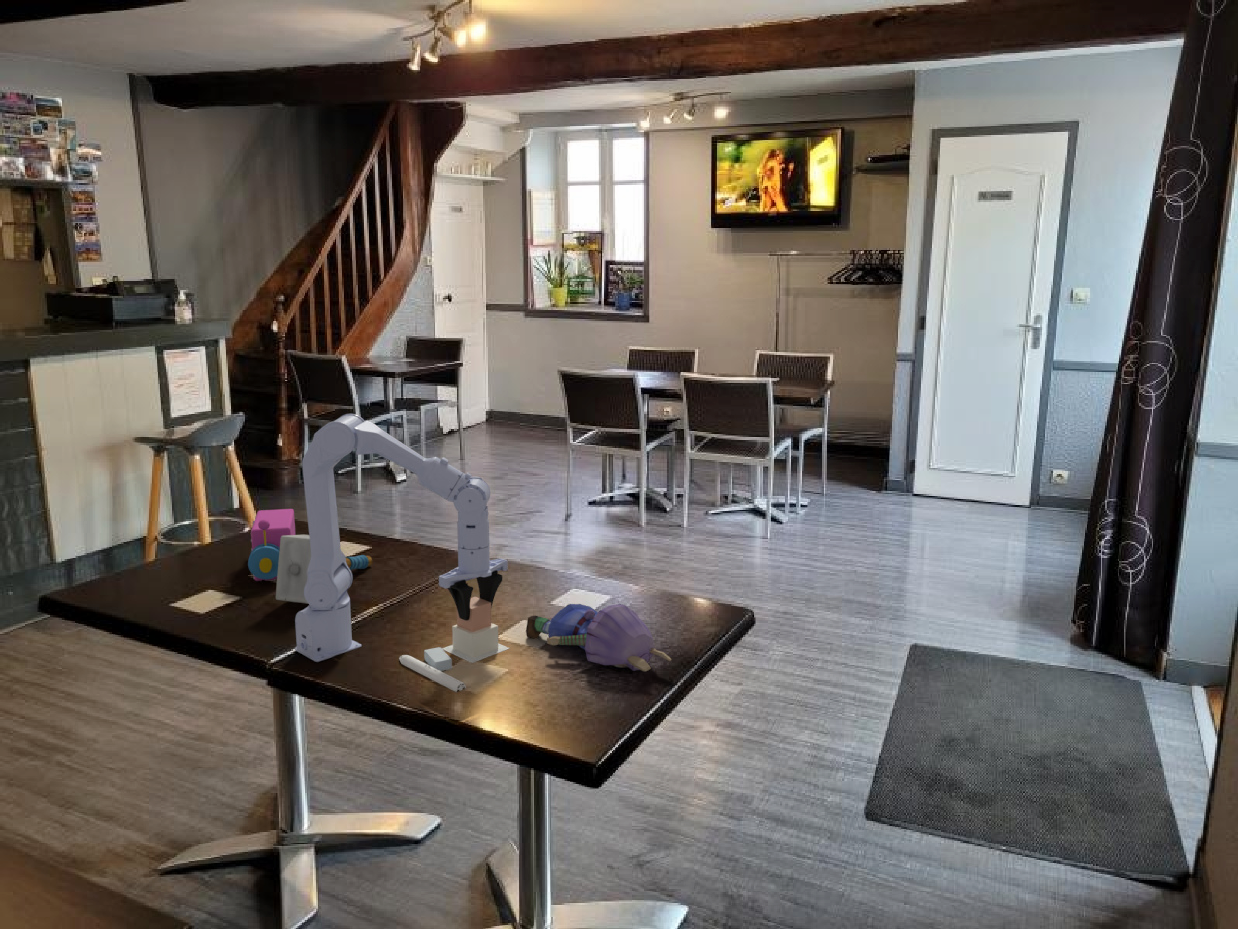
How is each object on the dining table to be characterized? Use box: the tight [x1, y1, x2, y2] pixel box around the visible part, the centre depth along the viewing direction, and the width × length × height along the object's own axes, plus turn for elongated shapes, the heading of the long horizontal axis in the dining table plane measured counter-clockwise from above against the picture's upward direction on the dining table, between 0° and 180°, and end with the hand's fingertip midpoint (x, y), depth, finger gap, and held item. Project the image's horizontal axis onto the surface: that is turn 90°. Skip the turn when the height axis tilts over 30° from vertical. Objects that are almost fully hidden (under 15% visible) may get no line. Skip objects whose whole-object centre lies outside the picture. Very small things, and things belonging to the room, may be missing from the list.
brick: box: [423, 646, 453, 672], centre depth 164 cm, size 6×3×2 cm, turn 30°
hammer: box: [275, 534, 373, 604], centre depth 203 cm, size 8×13×30 cm
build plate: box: [441, 642, 511, 664], centre depth 171 cm, size 9×9×1 cm
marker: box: [398, 654, 467, 693], centre depth 160 cm, size 18×2×2 cm, turn 47°
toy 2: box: [525, 603, 672, 672], centre depth 169 cm, size 18×11×30 cm
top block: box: [456, 596, 492, 632], centre depth 170 cm, size 4×4×4 cm
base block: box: [451, 622, 499, 658], centre depth 170 cm, size 6×6×4 cm
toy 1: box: [247, 508, 296, 582], centre depth 214 cm, size 28×9×15 cm, turn 16°
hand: (475, 615), depth 170 cm, fingers closed on top block, 4 cm apart
